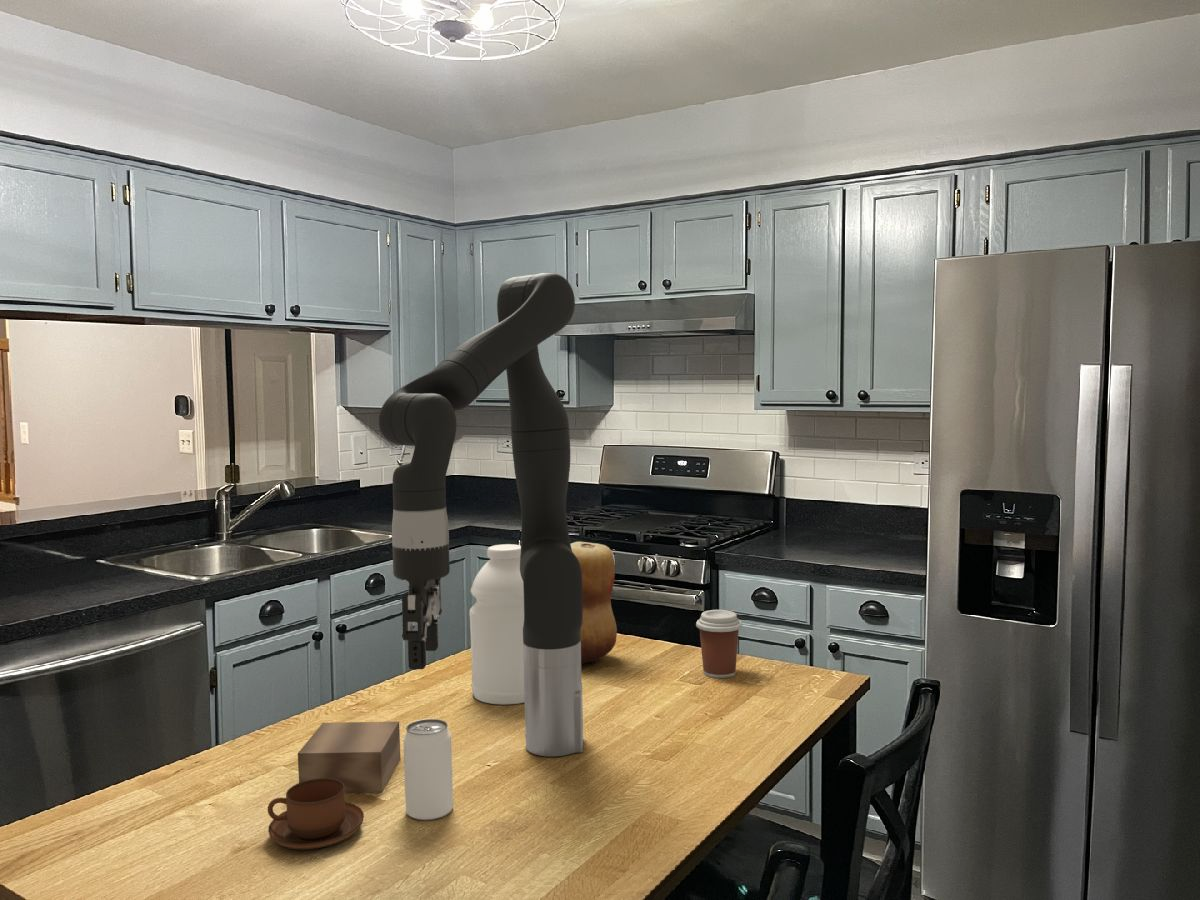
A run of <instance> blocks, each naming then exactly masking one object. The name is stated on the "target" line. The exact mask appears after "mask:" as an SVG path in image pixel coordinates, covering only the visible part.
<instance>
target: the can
mask: <svg viewBox="0 0 1200 900" xmlns="http://www.w3.org/2000/svg"><path fill="white" fill-rule="evenodd" d="M448 725H449V724H448V722H446V721H445V720H442V719H438V718H424V719H418V720H415V721H412V722H411V723H409V724H408V725H406V728H405V730H406V732H405V734H404V736H403V767H404V768H403V771H404V793H405V794H404V795H405V797H404V798H405V812H406V814H407V815H408V816H409V817H410V818H411V819H413V820H416V821H424V822H427V821H428V822H429V821H434V820H438V819H442V818H444V817H446V816H448V815H449V814H450V813H451V811H452V810H453V807H454V785H453V781H454V780H453V756H452V755H453V754H452V753H453V751H452V735H451V732H450V730H449V729H448Z"/></svg>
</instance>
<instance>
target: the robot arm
mask: <svg viewBox="0 0 1200 900" xmlns="http://www.w3.org/2000/svg"><path fill="white" fill-rule="evenodd" d="M496 298H497V299H496V312H497V320H498V321H497V322H498V323H496V324H495V325H493V326H492V327H491V326H490V327H489V328H487V329H485V330H484V331H481V332H479V333H478V334H476V335H474V336H472V337H471V338H469V339H467V340H466V341H464V342H463V343H461V344H460V345H458V346H457V347H456V348H455V349H454V350H452V351H451V352H450V353H449V354H448V355H447V356H445V358H444V359H442V361H441V362H439V363H438V364H437V365H436V366H435V367H434V368H433V369H432V370H430V371H428V372H427V373H425V374H423V375H421V376H418V377H417V378H415V379H413V380H412V381H410V382H408V383H407V384H405V385H403V386H401V387H400V388H398V389H397V390H395V392H393V393H392V394H391V395H390V396H389V397H387V399H386V400H385V401H384V403H383V405H382V406H381V408H380V412H379V415H378V428H379V431H380V433H381V435H382V436H383V438H384V439H386V441H388V442H390V443H392V444H394V445H398V446H407V447H408V446H413V447H414V448H413V454H412V456H411V457H412V458H411V460H410V462H409V463H405V464H402V465H399V466H397V467H396V468H395V469H394V471H393V473H392V501H393V502H392V507H393V509H392V511H393V512H392V522H391V537H392V539H391V541H392V542H391V543H392V547H391V548H392V570H393V571H392V573H393V576H394V578H396V579H397V580H401V581H406V582H408V590H407V591H405V594H402V597H401V608H402V609H401V611H402V612H401V615H402V616H401V618H402V619H401V620H402V623H401V624H402V636H401V638H402V641H405V642H407V651H408V652H407V653H408V654H407V656H408V657H407V658H408V659H407V660H408V668H409V669H410V670H424V669H425V668H426V667H427V652H435V651H437V650H438V649H439V627H438V626H439V624H438V623H439V622H440V619H441V615H442V612H443V608H442V595H441V594H442V593H441V592H442V591H441V579H442V578H445V577H447V576H448V575H449V574H450V572H451V571H450V536H449V535H450V534H449V533H450V531H449V530H450V529H449V518H448V513H447V491H446V487H447V486H446V476H447V473H448V472H447V471H448V468H449V464H450V461H451V460H450V459H451V456H452V451H453V448H454V447H453V446H454V443H455V438H456V433H457V416H456V411H460V410H463V409H465V408H467V407H468V406H470V404H472V403H473V401H475V400H476V399H477V398H478V397H479V396H480V395H481V394H482V393H483V392H484V391H485V390H486V389H487V388H488V387H489V386H490V384H491V383H492V382H494V381H495V380H496V379H497V378H498V377H499V376H500V375H501V374H502V373H504V371H506V378H507V379H506V380H507V388H508V389H507V390H508V398H509V399H508V401H509V402H508V403H509V411H510V414H509V415H510V416H509V417H510V433H511V434H510V436H511V450H512V451H511V452H512V458H513V459H512V460H513V468H514V475H515V482H516V487H517V493H518V498H519V504H520V512H521V514H520V515H521V532H520V533H521V537H520V538H521V539H520V546H521V555H520V574H521V577H522V580H523V587H524V625H523V658H524V698H525V702H524V725H525V727H524V729H525V730H524V732H525V733H524V736H525V749H526V750H527V751H528V752H529V753H531V754H533V755H537V756H539V757H540V756H542V757H564V756H568V755H571V754H575V753H583V749H584V715H583V714H584V707H583V703H584V702H583V699H584V698H583V683H582V682H583V681H582V664H581V627H582V618H583V614H582V571H581V566H580V563H579V561H578V559H577V557H576V556H575V555H574V553H573V552H572V549H571V544H572V543H571V538H570V533H569V526H568V518H567V494H568V489H569V488H568V487H569V481H570V480H569V479H570V469H571V436H570V424H569V423H570V422H569V417H568V413H567V410H566V409H565V406H564V404H563V403H562V401H561V399H560V397H559V395H558V394H557V392H556V390H555V389H554V387H553V386H552V384H551V383H550V381H549V379H548V377H547V376H546V373H545V371H544V369H543V366H542V363H541V360H540V352H539V347H538V346H539V345H540V344H541V343H542V342H545V341H546V340H547V339H549V338H550V337H552V336H554V335H555V334H557V333H558V332H560V331H561V330H562V329H564V328H565V327H566V326H567V325H569V323H570V322H571V320H572V317H573V316H574V312H575V306H576V300H575V299H576V298H575V293H574V290H573V287H572V285H571V284H570V282H569V281H568V279H567V278H565V277H564V276H562V275H560V274H558V273H554V272H551V273H550V272H541V273H535V274H529V275H528V274H527V275H520V276H513V277H510V278H507V279H506V280H504V282H503V283H502V284H501V285H500V288H499V291H498V294H497V297H496ZM414 626H416V627H417V630H413V627H414Z"/></svg>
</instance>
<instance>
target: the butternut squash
mask: <svg viewBox="0 0 1200 900" xmlns="http://www.w3.org/2000/svg"><path fill="white" fill-rule="evenodd" d="M570 544H571V549H572V552H573V553H574V555H575V556H576V557H577V559H578V561H579V563H580V566H581V571H582V614H583V618H582V627H581V665H584V664H590V663H594V662H597V661H599V660H600V659H601V658H604V657H605V656H606V655H608V654H609V653H610V652H611V651H612V650H613V649H614V647H615V645H616V643H617V636H618V628H617V623H616V618H615V615H614V611H613V608H612V602H611V600H612V594H613V590H614V589H613V587H614V583H615V577H616V574H615V572H616V571H615V569H616V567H615V566H616V565H615V557H614V554H613V552H612V550H611V548H610V547H609V546H607V545H606V544H601V543H596V542H595V543H594V542H587V541H586V542H585V541H574V542H572V543H570Z"/></svg>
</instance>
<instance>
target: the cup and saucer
mask: <svg viewBox="0 0 1200 900" xmlns="http://www.w3.org/2000/svg"><path fill="white" fill-rule="evenodd" d="M345 794H346V793H345V791H344V784H343V783H342V782H341V781H339V780H336V779H330V778H318V779H311V780H307V781H303V782H300V783H299V782H298V783H296V784H294V785H293V786H291V787H289V789H288V790H286V793H285V797H276V798H274V799H272V800H271V801H270V802H269V803H268V806H267V813H268V816H269V817H270V818H271V819H272V821H271V822H270V823H269V825H268V834H269V837H270V839H271V840H272V841H273V842H275V843H276V844H278V845H279V846H281V847H284V848H287V849H292V850H315V849H322V848H325V847H330V846H332V845H333V846H334V845H335V844H338V843H341V842H343V841H345V840H346V839H348V838H349V837H351V836H352V835H354V834H355V833H356V832H357V830H358V829H360V828H361V826H362V824H363V822H364V817H365V813H364V811H363V810H362V808H361V807H359V806H358V805H356V804H354V803H351V802H346V800H345V799H346V798H345V796H346V795H345ZM276 804H282V805H285V806H286V810H285V811H283V812H282V813H281V812H280V813H279V815H278V814H276V813H275V812H274V806H275V805H276Z"/></svg>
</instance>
